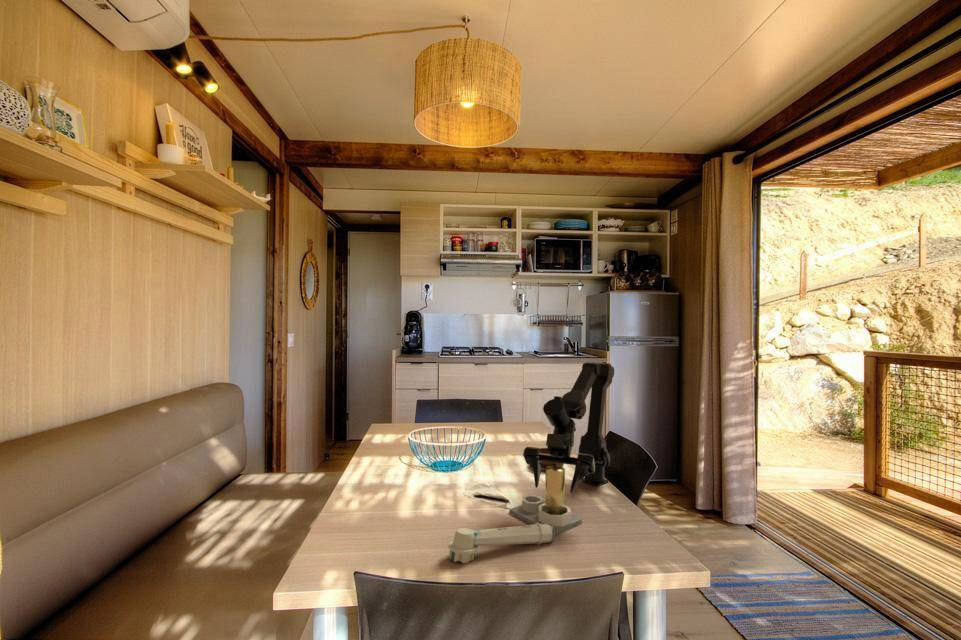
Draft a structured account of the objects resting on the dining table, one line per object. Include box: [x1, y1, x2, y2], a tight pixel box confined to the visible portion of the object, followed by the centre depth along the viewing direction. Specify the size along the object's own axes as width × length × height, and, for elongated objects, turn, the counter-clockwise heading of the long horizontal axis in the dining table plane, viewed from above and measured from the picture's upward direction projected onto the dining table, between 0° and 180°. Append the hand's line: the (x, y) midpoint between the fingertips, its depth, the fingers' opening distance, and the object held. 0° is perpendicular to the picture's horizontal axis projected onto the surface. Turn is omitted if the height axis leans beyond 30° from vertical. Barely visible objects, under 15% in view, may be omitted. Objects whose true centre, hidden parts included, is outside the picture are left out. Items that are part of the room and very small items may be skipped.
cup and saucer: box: [539, 447, 565, 472], centre depth 155 cm, size 12×12×6 cm
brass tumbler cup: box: [544, 466, 566, 515], centre depth 112 cm, size 5×5×13 cm
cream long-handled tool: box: [447, 523, 556, 564], centre depth 98 cm, size 5×7×25 cm
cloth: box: [463, 477, 510, 510], centre depth 131 cm, size 26×14×2 cm, turn 13°
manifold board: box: [508, 494, 583, 536], centre depth 114 cm, size 11×16×4 cm
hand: (553, 489), depth 110 cm, fingers open, 9 cm apart
